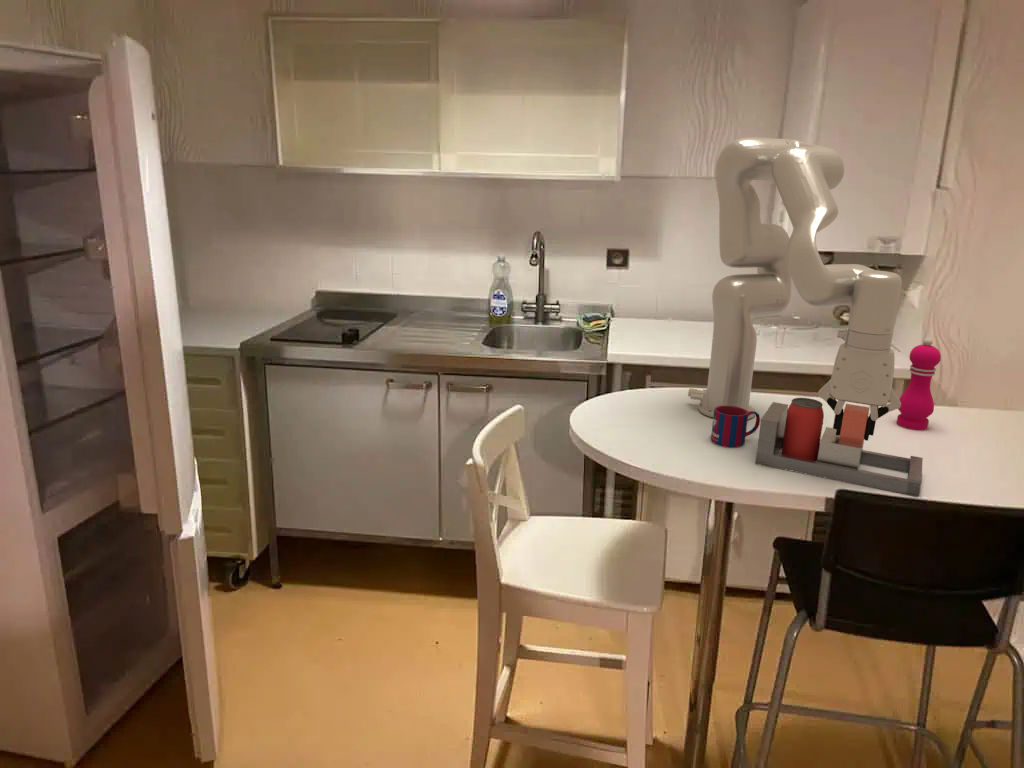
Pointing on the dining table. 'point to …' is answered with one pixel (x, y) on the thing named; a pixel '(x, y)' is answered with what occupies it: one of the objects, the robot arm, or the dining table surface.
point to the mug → (731, 426)
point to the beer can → (803, 429)
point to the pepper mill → (919, 387)
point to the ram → (845, 439)
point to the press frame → (770, 456)
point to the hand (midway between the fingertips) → (852, 434)
